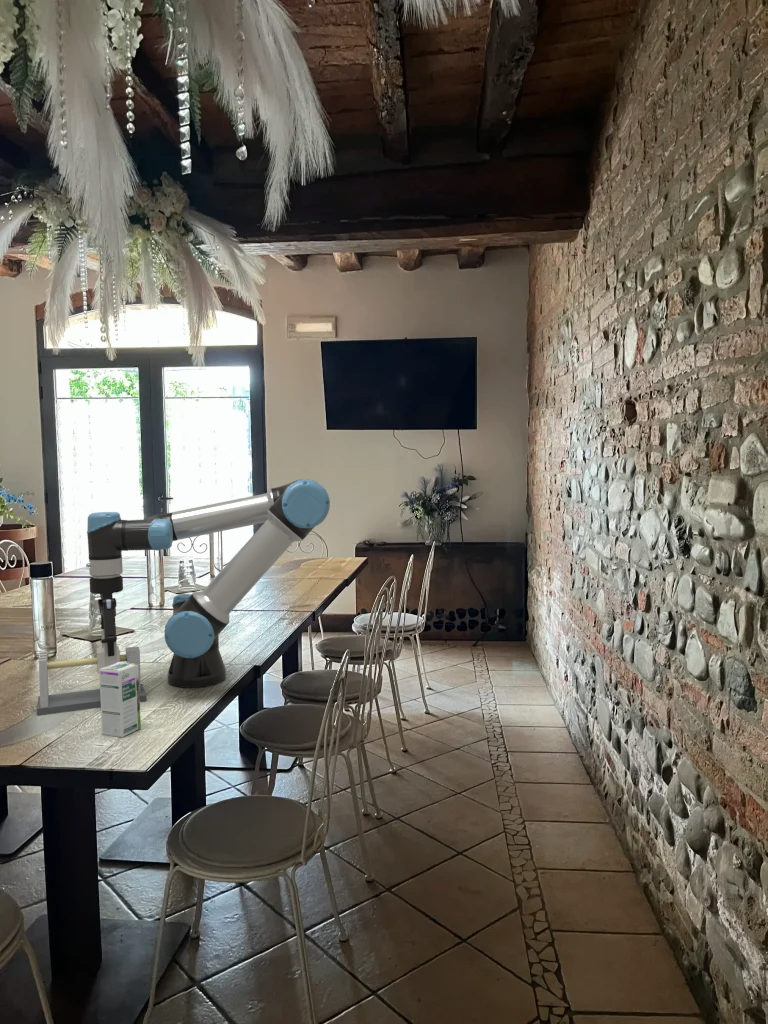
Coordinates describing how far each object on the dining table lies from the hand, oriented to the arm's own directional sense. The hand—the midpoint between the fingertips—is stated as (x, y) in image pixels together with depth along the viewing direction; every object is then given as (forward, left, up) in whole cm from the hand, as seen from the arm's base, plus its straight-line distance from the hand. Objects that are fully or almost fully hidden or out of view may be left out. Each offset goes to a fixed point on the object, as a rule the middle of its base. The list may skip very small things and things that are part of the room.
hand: (109, 662), depth 173 cm
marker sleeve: (0, 0, -2) cm, 2 cm away
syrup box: (-16, +18, -10) cm, 26 cm away
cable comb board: (+3, +3, -9) cm, 10 cm away
